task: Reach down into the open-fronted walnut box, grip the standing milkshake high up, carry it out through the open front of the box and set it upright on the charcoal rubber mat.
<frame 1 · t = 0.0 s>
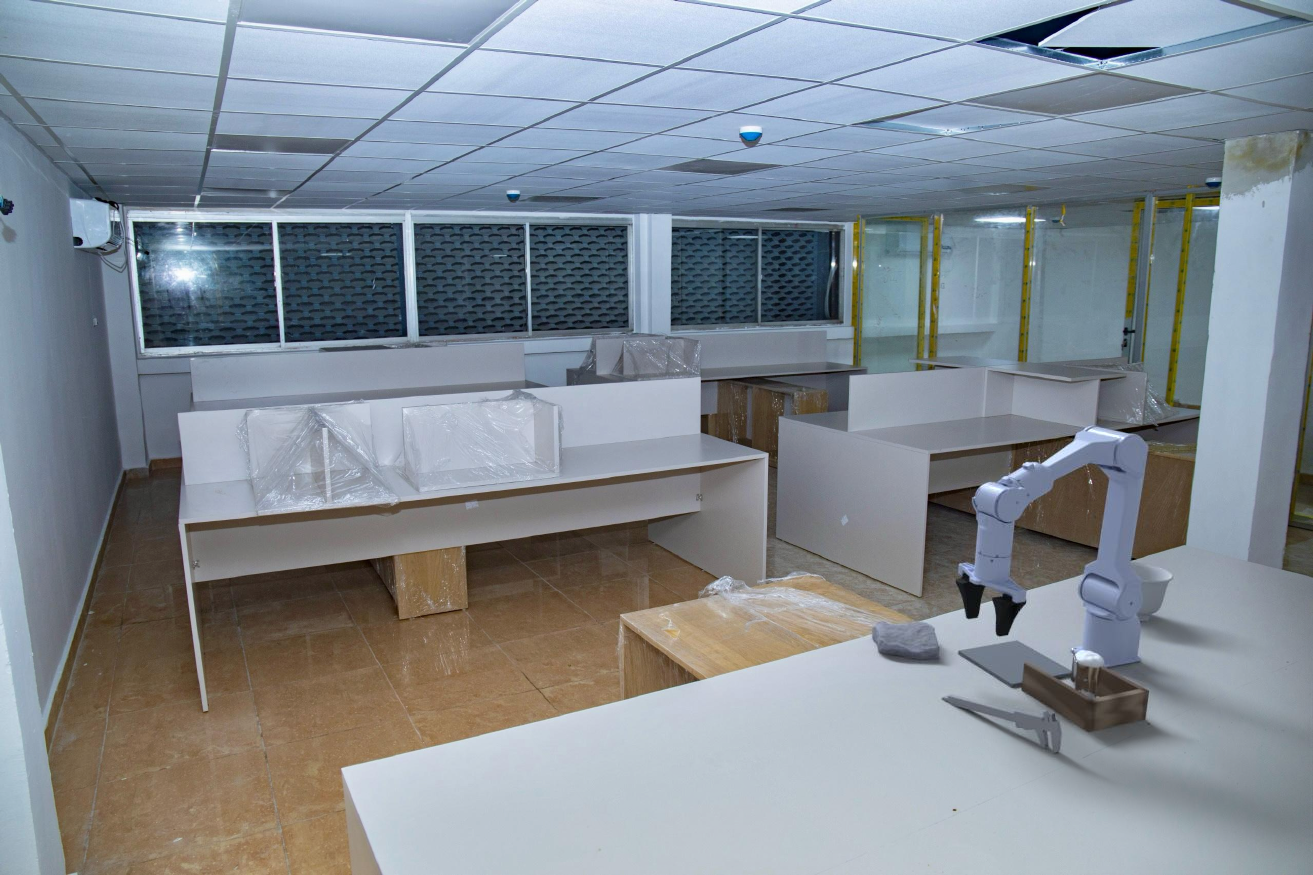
hand: (986, 626, 150), 10 cm above the table, tool pointing down, fingers open, 7 cm apart
mat: (1014, 664, 158), on the table
teacup: (1126, 614, 182), on the table
stone block: (906, 650, 164), on the table
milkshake: (1081, 705, 144), resting in open box
caliper: (996, 726, 137), on the table
open box: (1081, 703, 144), on the table
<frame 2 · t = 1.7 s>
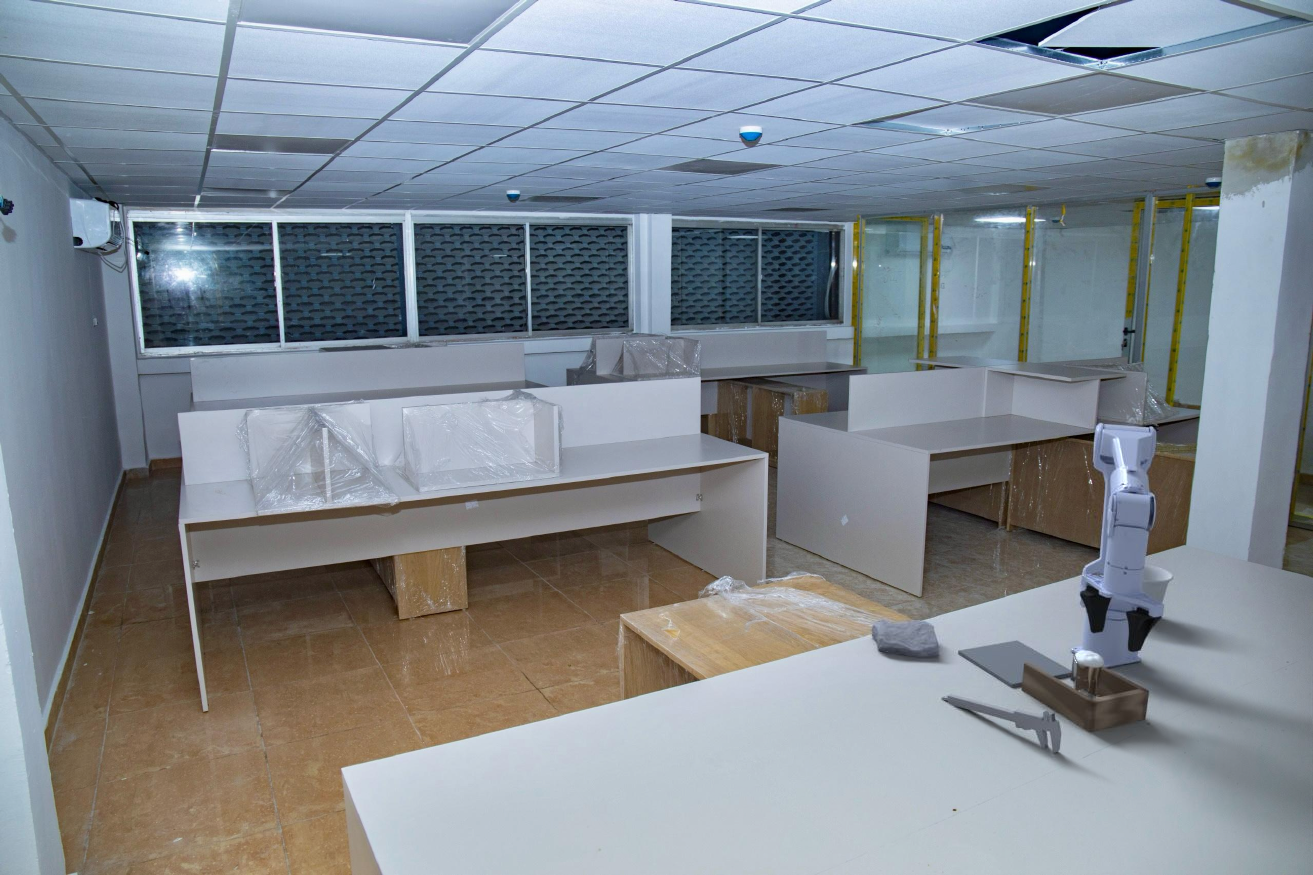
hand: (1115, 640, 144), 10 cm above the table, tool pointing down, fingers open, 7 cm apart
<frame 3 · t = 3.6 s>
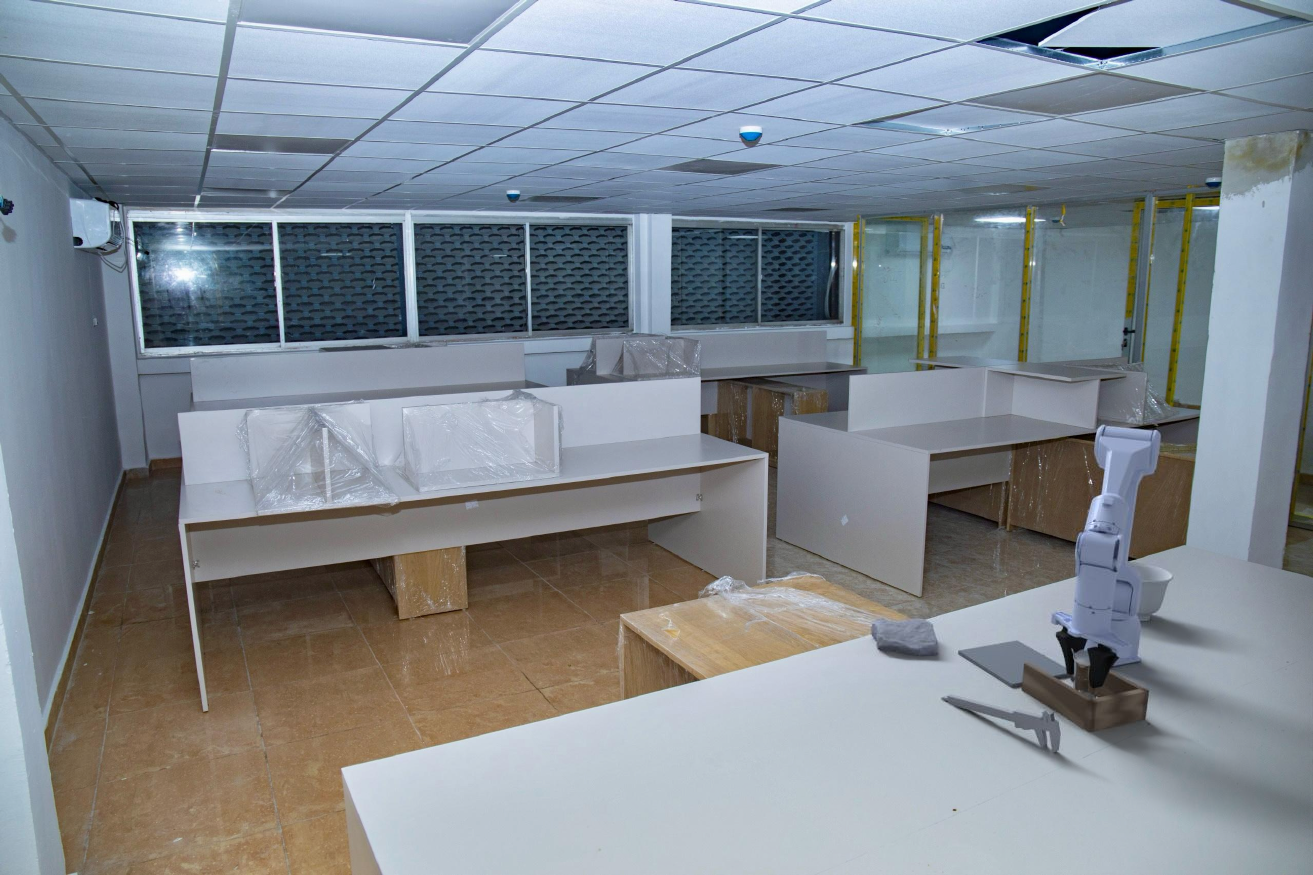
hand: (1084, 679, 143), 4 cm above the table, tool pointing down, fingers closed on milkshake, 4 cm apart
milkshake: (1081, 704, 144), resting in open box, touching gripper
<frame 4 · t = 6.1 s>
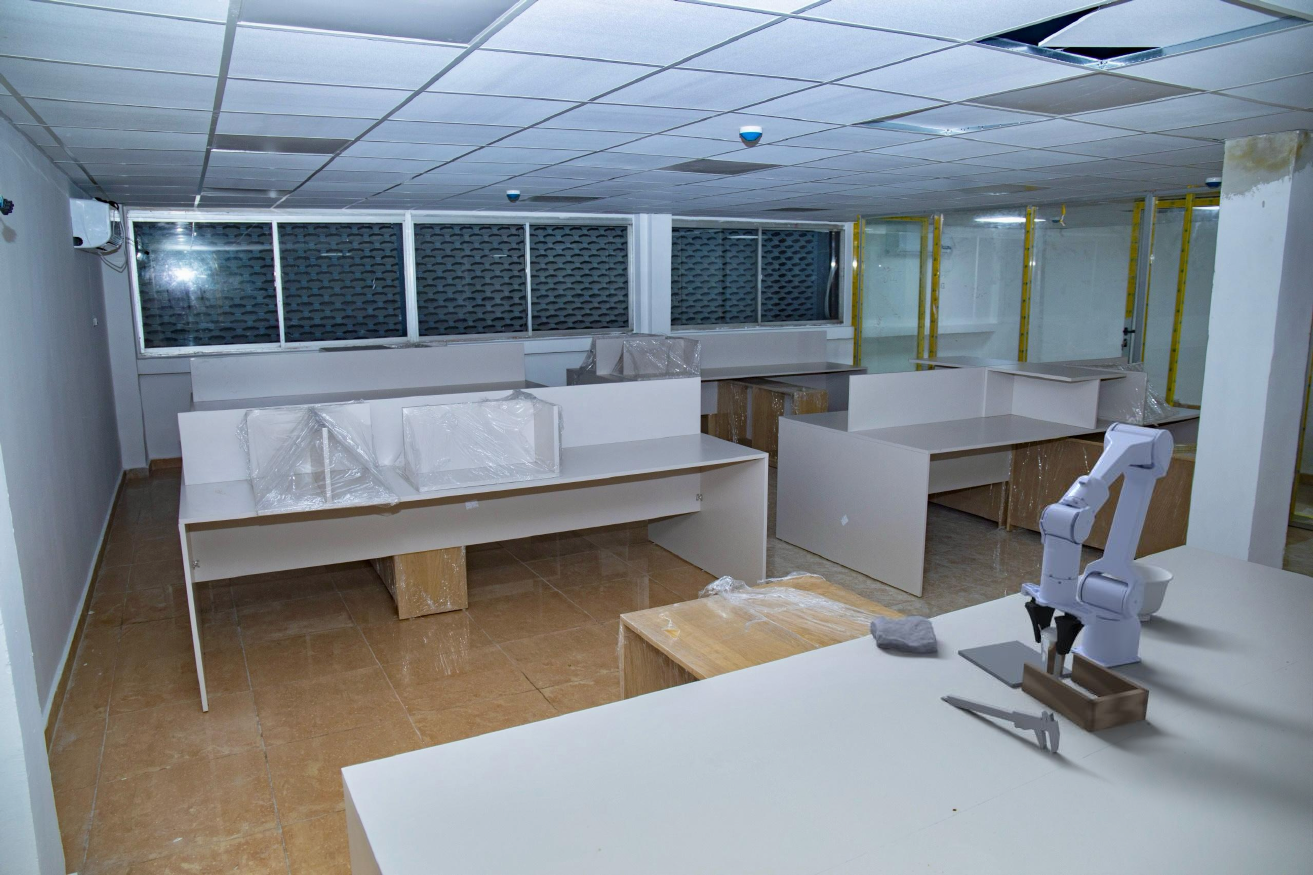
hand: (1052, 647, 149), 7 cm above the table, tool pointing down, fingers closed on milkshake, 4 cm apart
stone block: (904, 644, 167), on the table
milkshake: (1048, 679, 150), point 1 cm above the table, touching gripper
everything else where it was.
when the fingers open (6 cm above the table, at t = 8.6 s): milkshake stays where it is, resting on mat.
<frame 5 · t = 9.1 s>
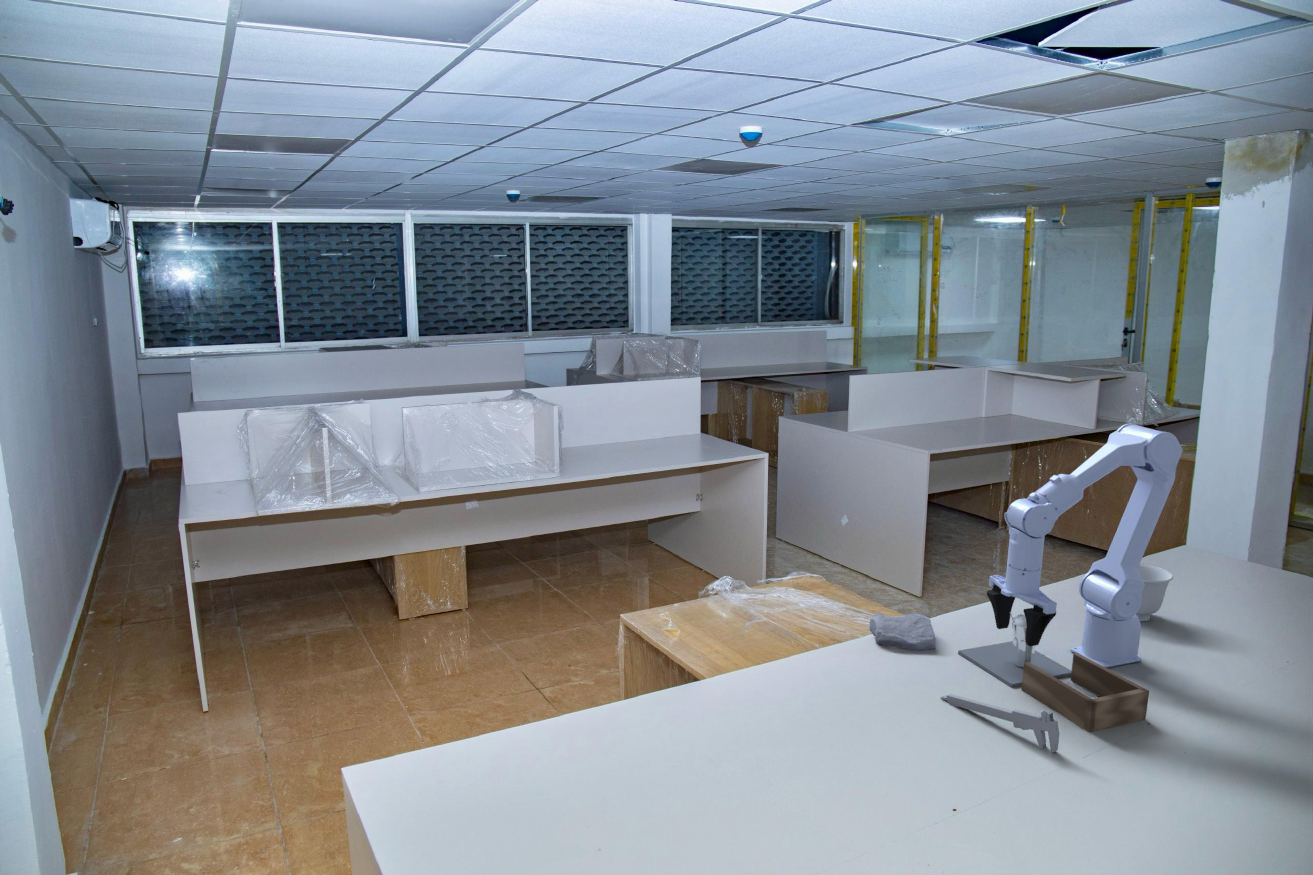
hand: (1017, 636, 157), 6 cm above the table, tool pointing down, fingers open, 7 cm apart
stone block: (902, 642, 168), on the table
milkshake: (1020, 665, 157), resting on mat, touching gripper
everything else where it was.
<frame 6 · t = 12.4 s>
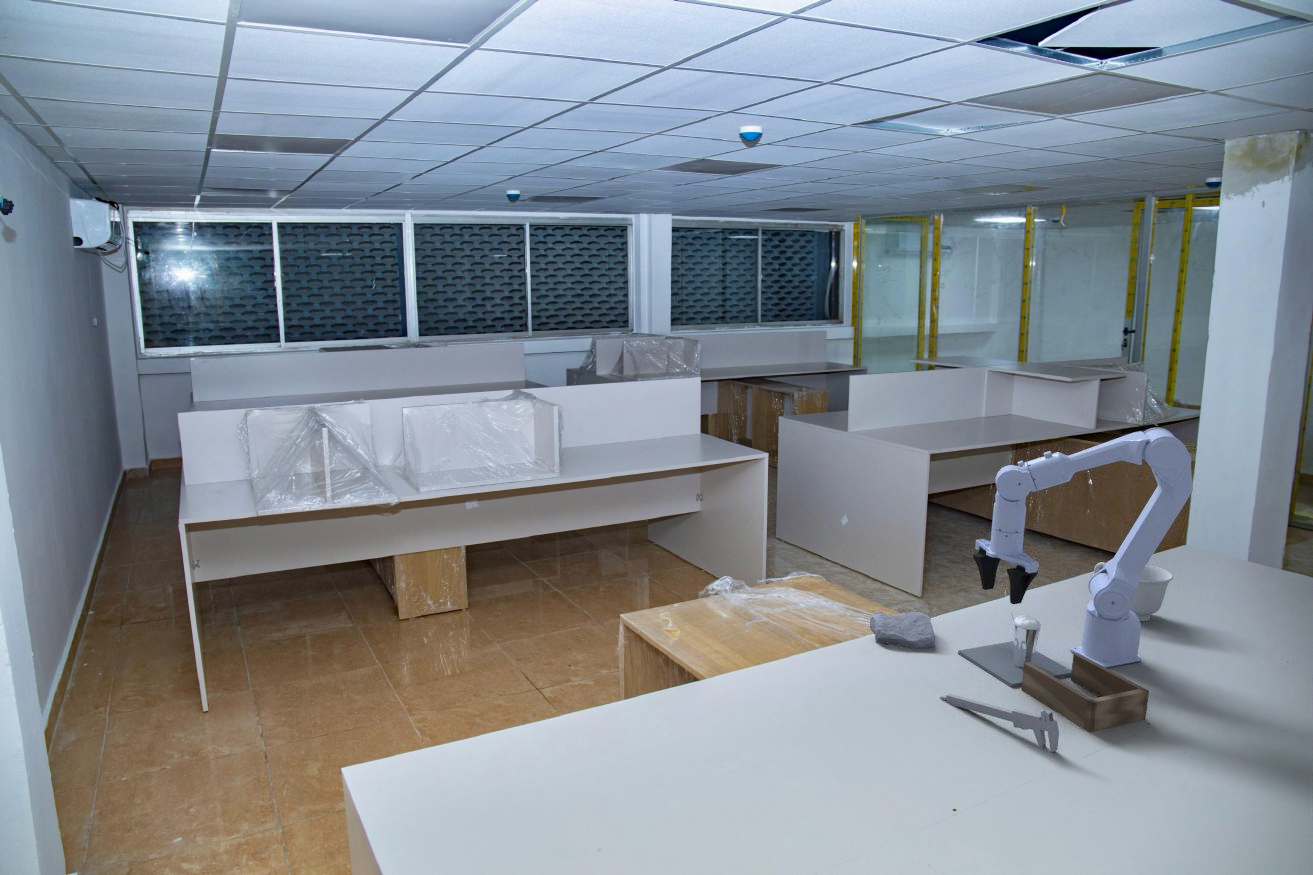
hand: (1001, 595, 166), 9 cm above the table, tool pointing down, fingers open, 7 cm apart
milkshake: (1020, 665, 157), resting on mat
at the end: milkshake inside the target area on the mat (1.5 cm from its centre), point 0.4 cm above the mat's base; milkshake tilted 0°; the gripper is holding nothing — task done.
